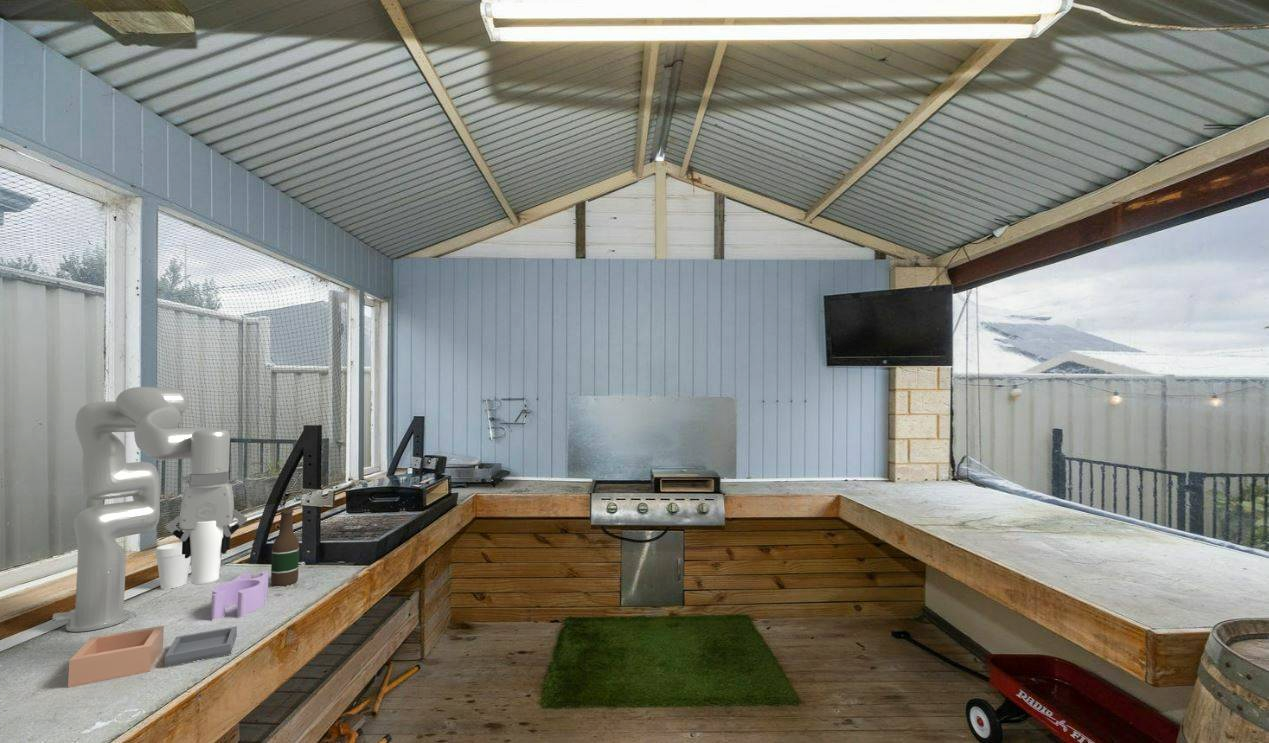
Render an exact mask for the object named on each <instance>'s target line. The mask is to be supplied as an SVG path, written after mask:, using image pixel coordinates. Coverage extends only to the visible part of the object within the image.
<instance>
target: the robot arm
mask: <svg viewBox="0 0 1269 743" xmlns="http://www.w3.org/2000/svg"><path fill="white" fill-rule="evenodd" d="M187 407H188V400H187V396H186V395H185V394H184V392H182V391H181V390H180V389H178V388H175V387H165V386H163V387H161V386H160V387H158V386H157V387H156V386H155V387H154V386H134V387H130V388H127V389H124V390H123V391H122V392H120V393H119V394H118V395H117V396H116V399H115V401H112V400H111V401H98V402H97V401H96V402H91V403H88V404H85V405H83V406H82V407H80V409H78V411H77V413H76V416H75V422H74V423H75V424H74V425H75V426H74V427H75V432H76V436H77V438H78V440H79V443H80V446H81V449H82V491H83V495H84V496H85V498H86V499H88V500H92V501H102V500H111V499H119V498H126V497H127V498H128V497H132V500H129V501H122V502H114V503H106V504H99V505H96V506H95V505H94V506H91V507H88V508H85V509H83V510H82V511H80V512H78V514H77V516H76V517H75V518H74V523H73V524H74V526H73V527H74V532H75V534H74V535H75V538H76V545H77V546H76V547H77V562H76V563H77V565H76V566H77V567H76V568H77V569H76V570H77V571H76V584H75V586H76V588H75V589H76V590H75V604H74V606H75V608H74V609H71V610H69V611H67V612H62V611H61V612H57V613H53V615H52V621H53V622H55V623H61V622H66V621H67V622H68V623H66V625H65V630H66V631H68V632H72V633H77V632H89V631H96V630H99V629H100V630H101V629H106V628H108V627H112V626H116V625H118V624H120V623H123V622H125V621H128V619H130V618H131V616H132V611H130V610H129V609H125V591H126V590H125V589H126V588H125V587H126V567H127V553H126V551H125V549H124V548H123V547H122V546H121V544H119V543H118V542H117V541H116V539H120V538H122V537H123V538H124V537H128V536H133V535H139V534H145V533H148V532H151V531H153V530H154V529H155V528H156V527H157V526H158V525H159V524H158V523H159V522H160V515H161V512H160V511H161V506H160V505H161V501H160V500H161V498H160V497H161V495H160V494H161V492H160V491H161V489H160V488H161V486H160V485H161V484H160V483H161V482H160V480H161V479H160V475H159V471H158V469H157V467H156V466H155V465H154V464H153V463H151V462H147V461H136V462H127V461H126V446H125V445H124V443H123V442H122V440H121V439H120V438H119V437H118V436H117V435H115V434H114V433H134V434H133V437H134V441H135V444H136V447H137V448H138V449H139V450H140V451H141V452H143V454H145V455H146V456H147V457H149V458H151V459H153V460H156V461H171V460H172V461H174V460H184V459H185V460H186V459H190V462H189V463H190V466H189V474H188V475H187V476H182V477H181V483H186V484H187V485H188V486H187V487H184V490H183V494H182V499H181V503H180V504H181V505H180V512H179V515H177V516H176V517H175V518H174V519H173V520H171V521H170V522H168V524H167V523H166V524H167V525H165V526H164V528H165V529H166V530H167V531H168V532H169V533H171V534H172V535H173V536H175V537H176V538H177V539H179V540H180V542H182V554H185V558H188V557H190V531H191V530H194V529H196V526H197V522H208V521H216V527H223V533H224V537H223V538H222V555H226V553H227V551H228V550H230V549H231V539H232V538H231V536H232V535H233V534H234V533H235V532H236V531H237V530H238V529H240V528H241V526H242V525H244V524H245V523H246V522H247V521H248V517H247V516H245V515H244V514H242V513H241V512H240V511H238V510H237V509H236V508H235V502H234V501H235V500H234V492H233V486H232V483H229V476H230V475H229V474H230V472H229V471H230V470H229V469H230V452H231V451H230V449H231V448H230V447H231V446H230V445H231V444H230V443H231V434H230V432H229V431H228V430H227V429H222V428H221V429H218V428H217V429H216V428H210V427H183V428H180V427H179V428H177V427H178V425H179V424H180V422H181V416H182V415H184V413H185V412H186V410H187ZM234 518H235V519H237V521H236V522H235V524H234V525H232V526H230V525H231V524H232V523H233V521H234ZM178 523H179V528H178V527H177V526H176V525H177V524H178ZM182 530H183V531H182Z"/></svg>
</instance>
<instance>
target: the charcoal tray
mask: <svg viewBox="0 0 1269 743" xmlns="http://www.w3.org/2000/svg"><path fill="white" fill-rule="evenodd" d="M237 628H238V626H230V627H224V628H219V629H213V630H207V631H202V632H195V633H191V634H184V635H179V636H175V638H174V640H173V642H172V643H171V645H170V647H169V649H168V651H167V652H166V654H165V656H164V668H165V667H166V668H169V667H168V666H171V667H174V666H173V665H176V666H178V665H177V664H181V665H183V664H182V663H186V664H189V663H188V662H191V663H194V662H193V661H197V660H202V659H207V658H212V659H214V658H213V657H217V658H219V657H218V656H222V657H225V656H224V655H227V656H230V655H229V654H232V652H233V649H232V648H234V646H233V645H235V642H236V640H237V634H238V633H237V631H238V630H237ZM231 651H232V652H231ZM207 660H208V659H207ZM202 661H203V660H202ZM197 662H198V661H197Z"/></svg>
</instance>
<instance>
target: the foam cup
mask: <svg viewBox="0 0 1269 743" xmlns="http://www.w3.org/2000/svg"><path fill="white" fill-rule="evenodd" d="M155 557H156V561H157V570H158V578H159V586H160V590H165V589H167V590H172V589H171V588H175V587H179V586H182V585H184V584H186V585H187V582H188V577H189V570H190V568H191V555H190V557H188V558H185V554H182V541H180V542H178V541H177V542H174V543H167V544H162V545H159V546H157V547H156V548H155ZM182 587H183V586H182ZM179 588H180V587H179ZM175 589H176V588H175Z"/></svg>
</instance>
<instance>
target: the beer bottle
mask: <svg viewBox="0 0 1269 743" xmlns="http://www.w3.org/2000/svg"><path fill="white" fill-rule="evenodd" d="M293 513H294V510H293V509H291V508H287V509H282V510H280V513H279V514H280V524H279V531H278V535H277V537H276V538H275V540H274V542H273V544H272V548H271V562H270V563H271V564H270V565H271V566H270V567H271V568H270V569H271V570H270V585H272V586H271V587H273V586H284V587H288V586H287V585H289V586H292V585H291V584H293V585H295V584H294V583H296V584H297V582H298V580H299V569H300V568H299V565H300V563H299V562H300V561H299V560H300V541H299V538H298V537H297V536H296V533H295V532H294V526H293V525H294V523H293Z"/></svg>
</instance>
